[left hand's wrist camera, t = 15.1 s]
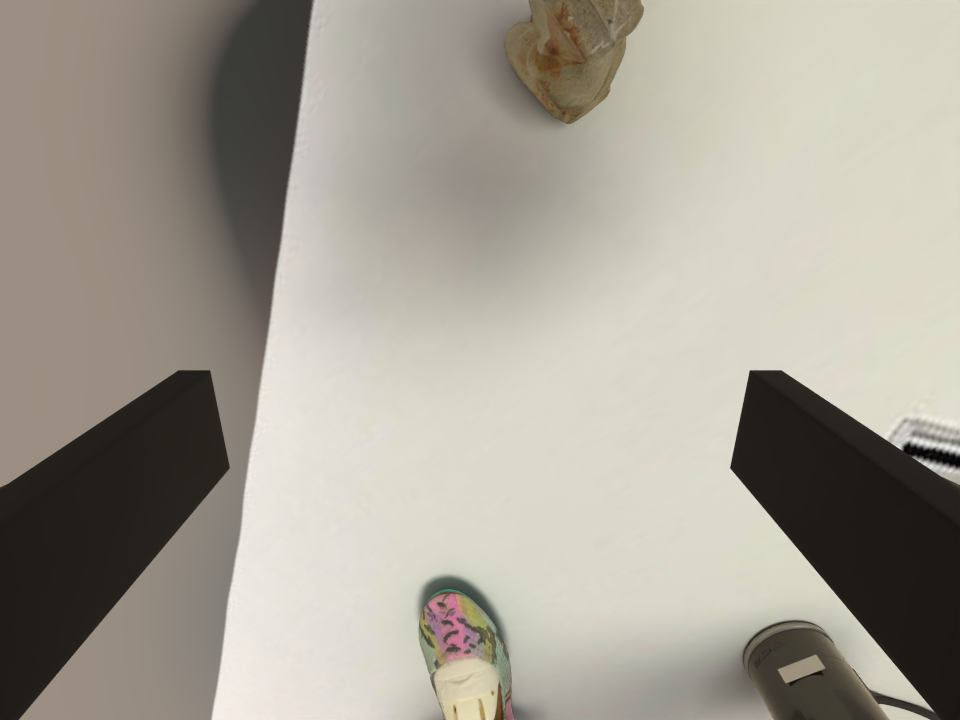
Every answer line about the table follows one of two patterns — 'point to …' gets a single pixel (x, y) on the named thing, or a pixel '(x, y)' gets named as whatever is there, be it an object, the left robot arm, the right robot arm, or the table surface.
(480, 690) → the ballet flat
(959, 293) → the table surface
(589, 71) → the sculpture
